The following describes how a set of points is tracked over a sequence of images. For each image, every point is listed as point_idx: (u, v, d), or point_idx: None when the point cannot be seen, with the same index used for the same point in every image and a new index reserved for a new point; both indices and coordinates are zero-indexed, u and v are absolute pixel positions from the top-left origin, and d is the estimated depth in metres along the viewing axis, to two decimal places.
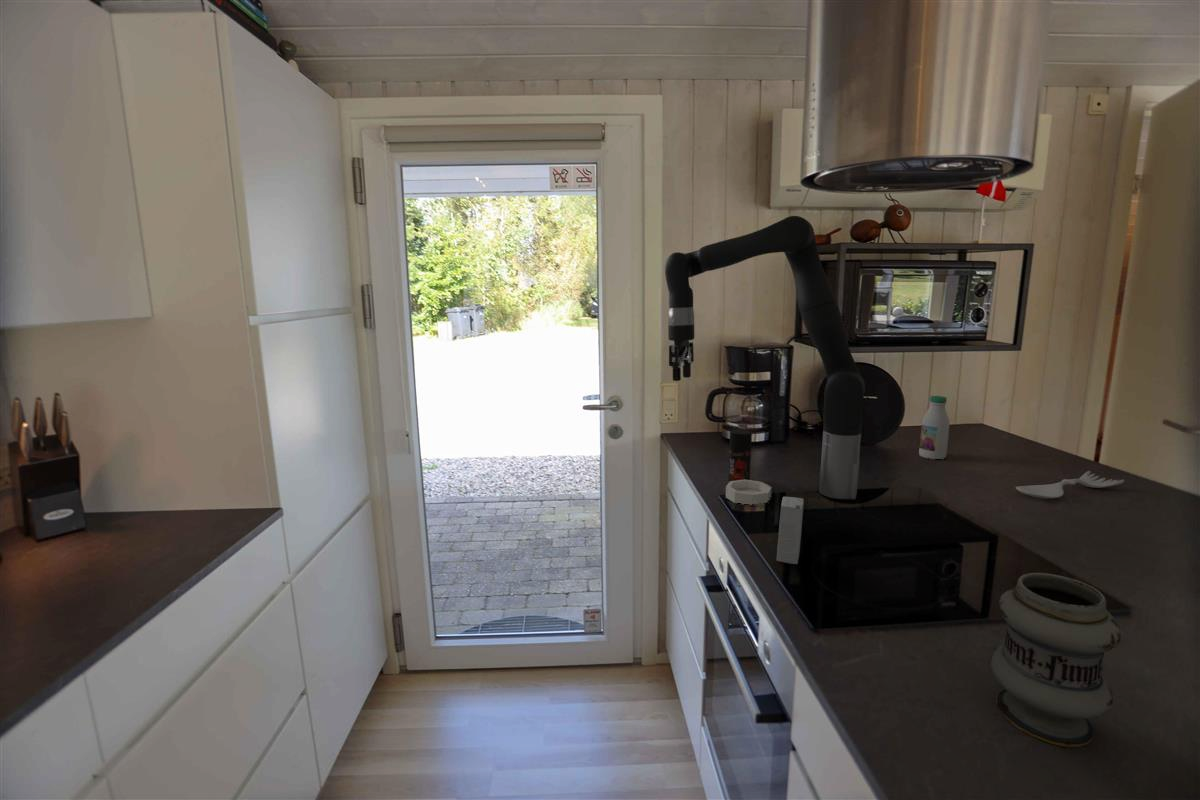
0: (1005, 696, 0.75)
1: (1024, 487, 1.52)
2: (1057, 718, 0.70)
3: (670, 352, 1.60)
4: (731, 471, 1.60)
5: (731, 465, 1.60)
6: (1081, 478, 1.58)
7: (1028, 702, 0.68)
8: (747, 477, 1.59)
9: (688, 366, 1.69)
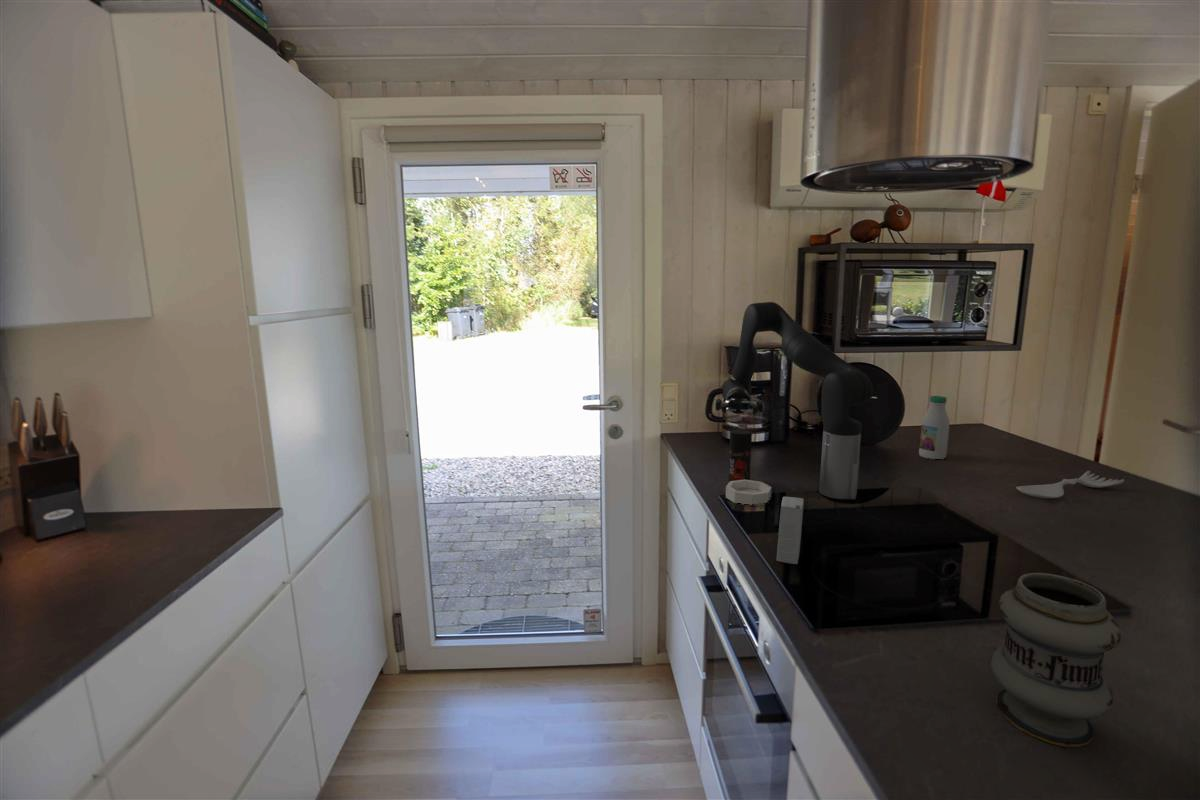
0: (1005, 696, 0.75)
1: (1024, 487, 1.52)
2: (1057, 718, 0.70)
3: None
4: (731, 471, 1.60)
5: (731, 465, 1.60)
6: (1081, 478, 1.58)
7: (1028, 702, 0.68)
8: (747, 477, 1.59)
9: (752, 406, 1.72)
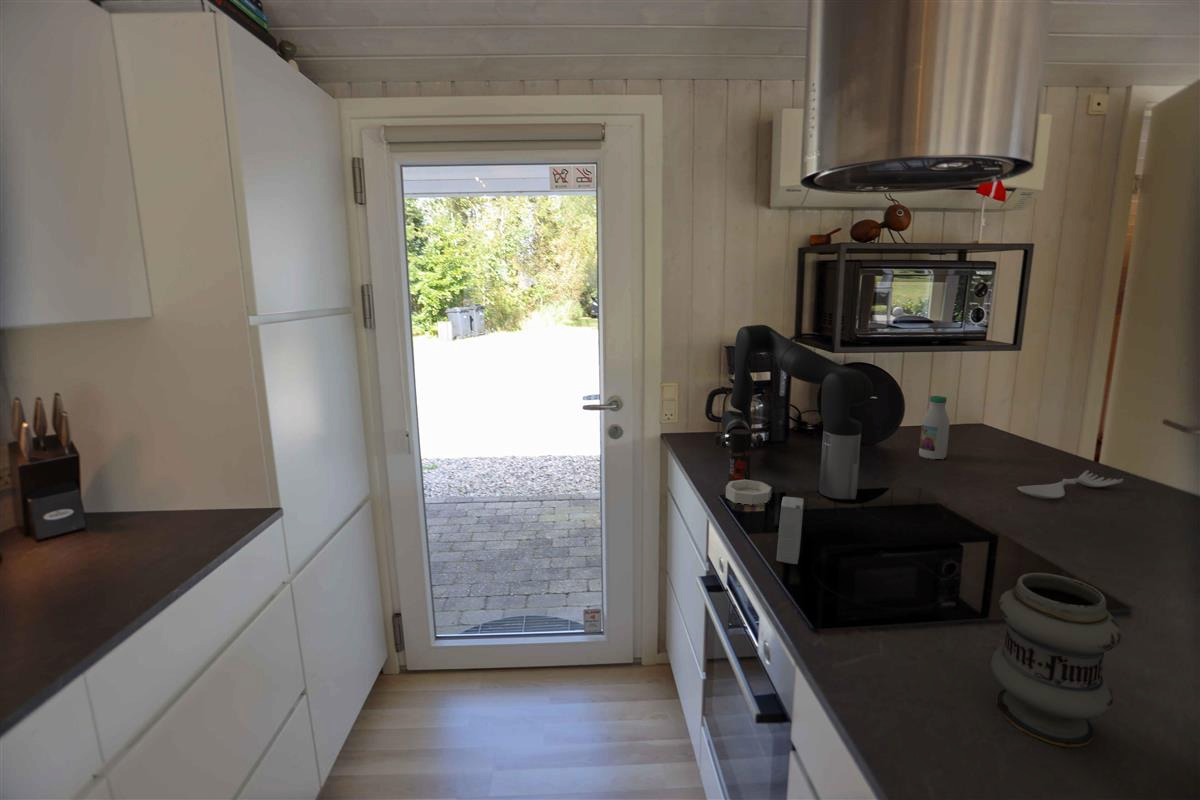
0: (1005, 696, 0.75)
1: (1025, 487, 1.52)
2: (1057, 718, 0.70)
3: None
4: (731, 471, 1.60)
5: (731, 465, 1.60)
6: (1080, 477, 1.59)
7: (1028, 702, 0.68)
8: (747, 477, 1.59)
9: (752, 441, 1.70)
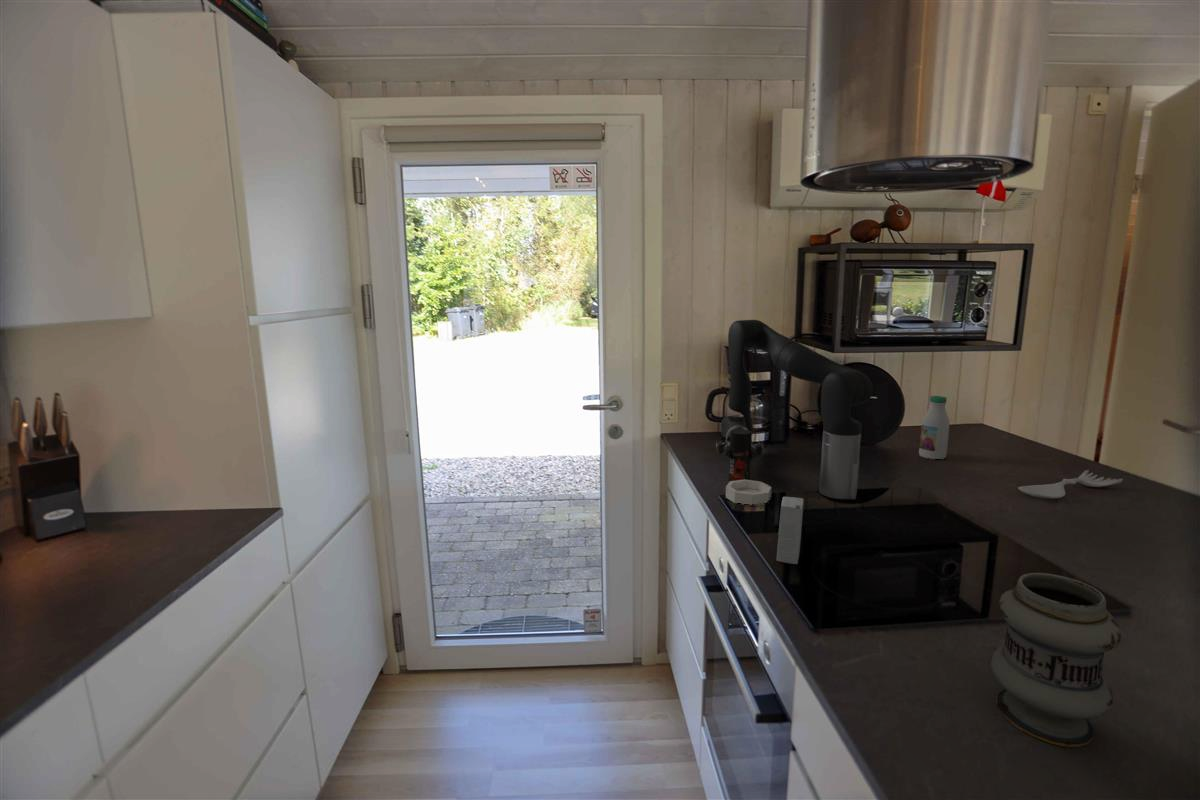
0: (1005, 696, 0.75)
1: (1026, 487, 1.52)
2: (1057, 718, 0.70)
3: (716, 448, 1.67)
4: (731, 471, 1.60)
5: (731, 465, 1.60)
6: (1080, 477, 1.59)
7: (1028, 702, 0.68)
8: (747, 477, 1.59)
9: None
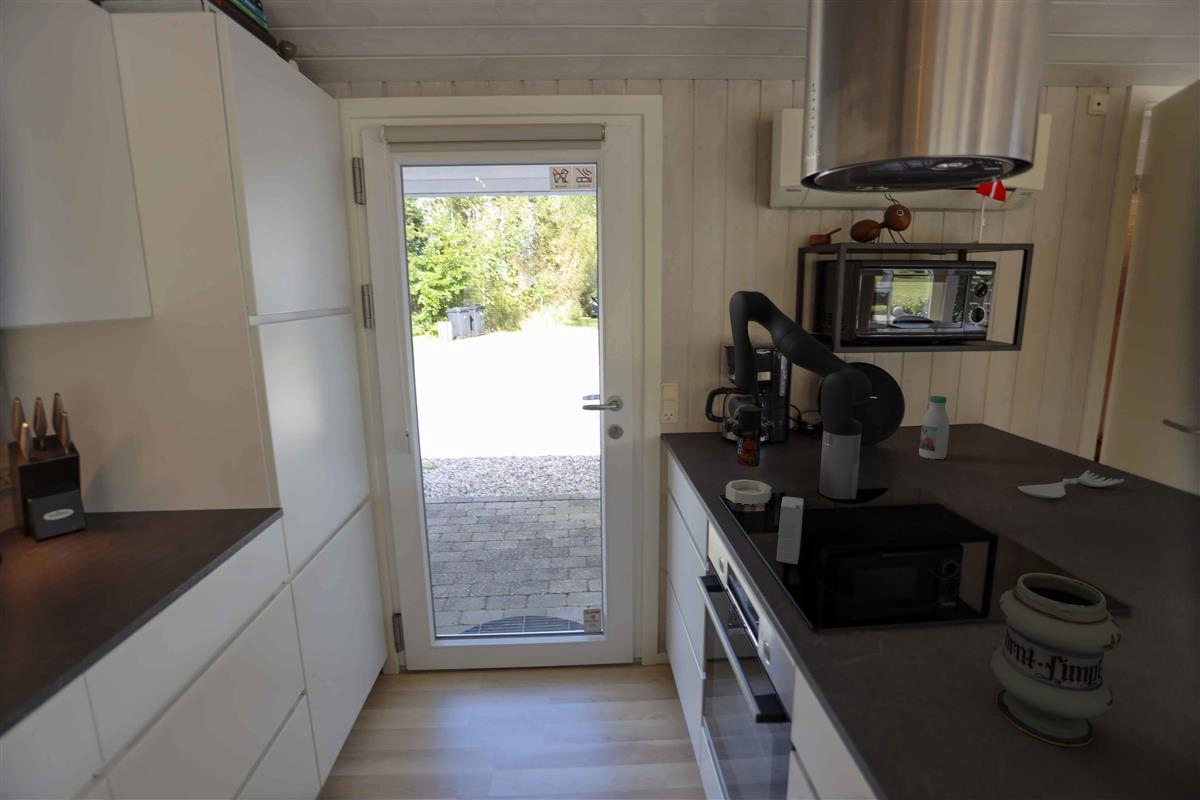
0: (1005, 696, 0.75)
1: (1026, 487, 1.52)
2: (1057, 718, 0.70)
3: (723, 427, 1.55)
4: (739, 451, 1.48)
5: (739, 445, 1.48)
6: (1081, 477, 1.59)
7: (1028, 702, 0.68)
8: (757, 458, 1.47)
9: None
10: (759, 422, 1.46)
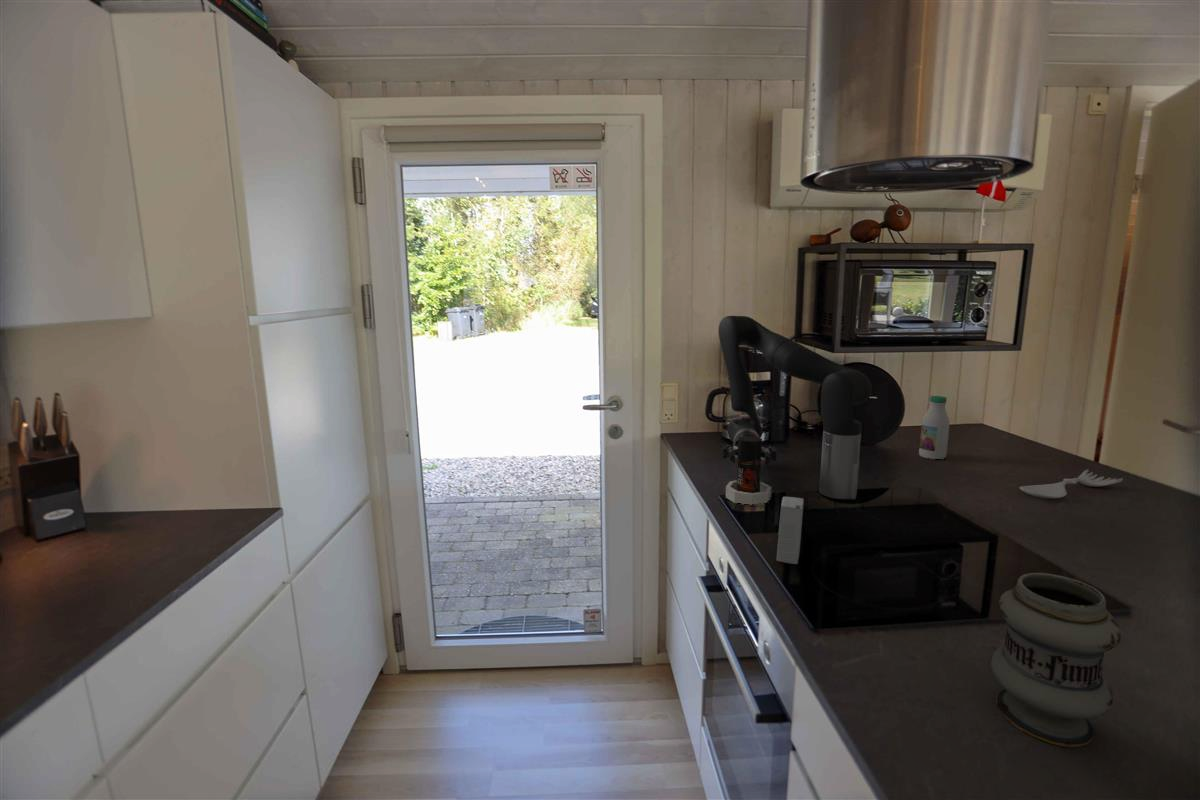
0: (1005, 696, 0.75)
1: (1027, 487, 1.52)
2: (1057, 718, 0.70)
3: None
4: (739, 481, 1.48)
5: (739, 475, 1.48)
6: (1080, 477, 1.59)
7: (1028, 702, 0.68)
8: (757, 488, 1.47)
9: (764, 454, 1.48)
10: (759, 452, 1.46)
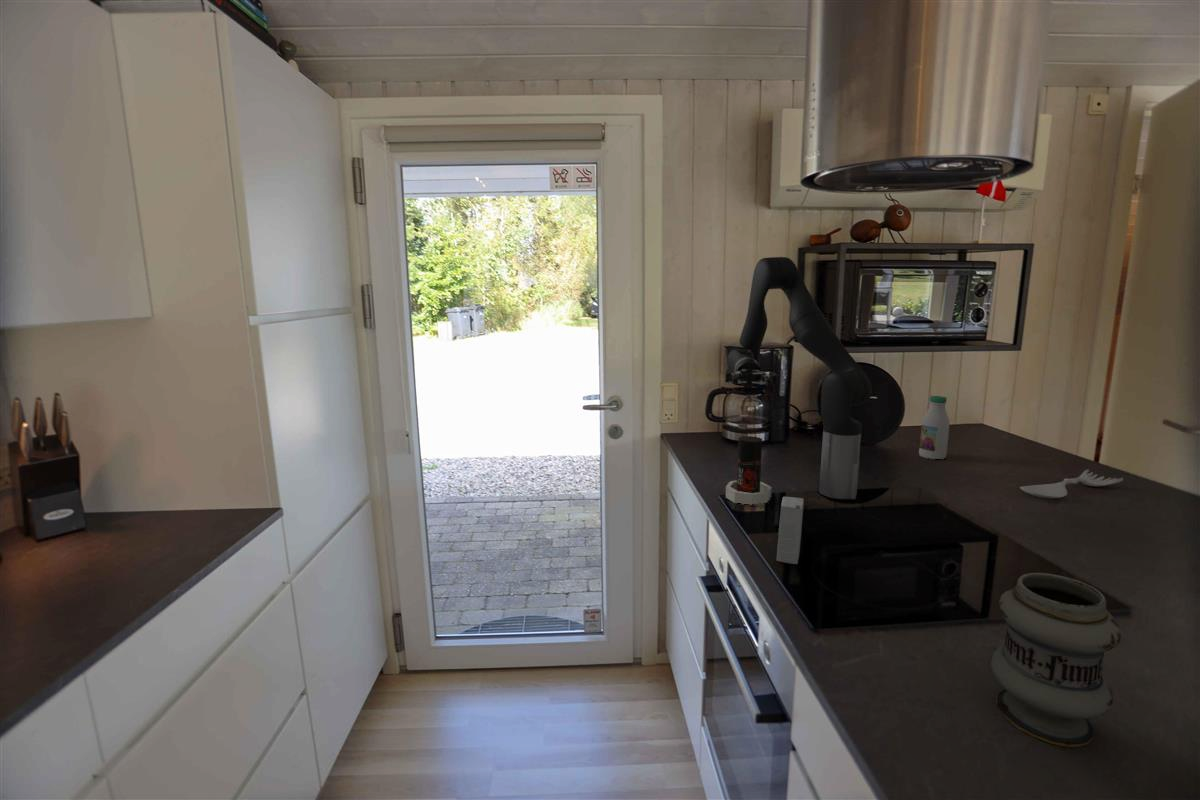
0: (1005, 696, 0.75)
1: (1028, 487, 1.52)
2: (1057, 718, 0.70)
3: None
4: (739, 481, 1.48)
5: (740, 475, 1.48)
6: (1081, 477, 1.59)
7: (1028, 702, 0.68)
8: (757, 488, 1.47)
9: (766, 378, 1.57)
10: (759, 453, 1.46)
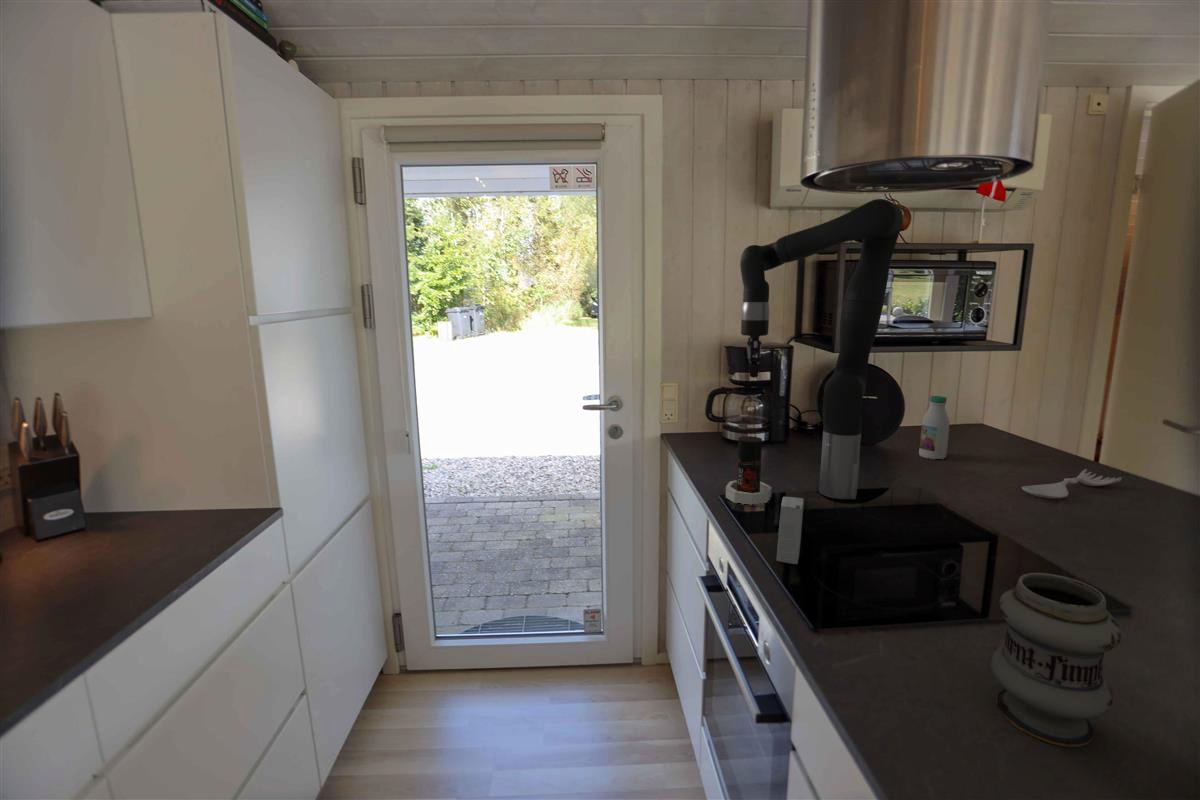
0: (1005, 696, 0.75)
1: (1029, 487, 1.52)
2: (1057, 718, 0.70)
3: (752, 348, 1.55)
4: (739, 481, 1.48)
5: (739, 475, 1.48)
6: (1079, 476, 1.60)
7: (1028, 702, 0.68)
8: (757, 488, 1.47)
9: None
10: (759, 453, 1.46)
